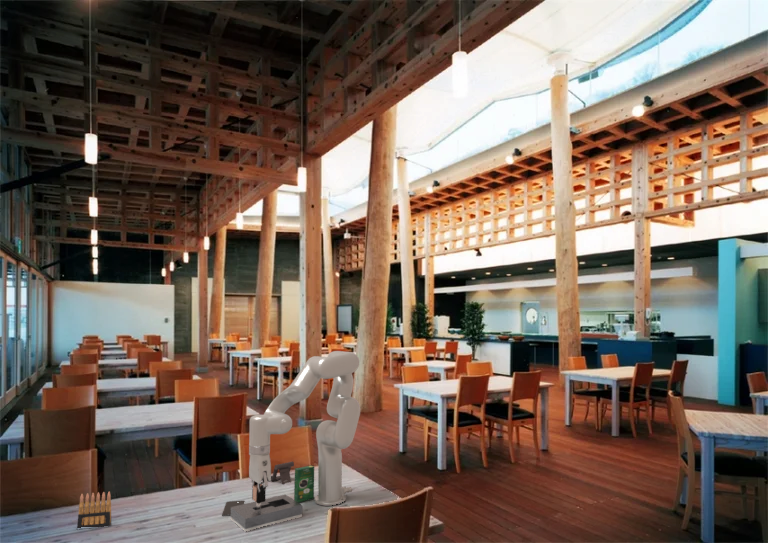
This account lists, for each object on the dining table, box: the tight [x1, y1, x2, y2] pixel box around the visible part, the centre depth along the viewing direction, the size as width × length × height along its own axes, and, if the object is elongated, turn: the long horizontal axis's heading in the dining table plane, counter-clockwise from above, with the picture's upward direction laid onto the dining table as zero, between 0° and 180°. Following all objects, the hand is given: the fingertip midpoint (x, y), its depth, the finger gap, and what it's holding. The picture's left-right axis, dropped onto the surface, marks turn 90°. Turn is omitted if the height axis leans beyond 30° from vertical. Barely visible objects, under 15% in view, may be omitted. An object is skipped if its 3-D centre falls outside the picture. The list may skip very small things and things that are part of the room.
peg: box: [252, 484, 263, 510], centre depth 190 cm, size 4×4×11 cm
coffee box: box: [293, 465, 315, 503], centre depth 210 cm, size 8×3×13 cm, turn 129°
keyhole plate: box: [230, 494, 303, 533], centre depth 192 cm, size 22×14×4 cm, turn 127°
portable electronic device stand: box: [270, 460, 295, 485], centre depth 235 cm, size 9×8×8 cm
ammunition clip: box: [76, 491, 112, 529], centre depth 185 cm, size 11×2×12 cm, turn 105°
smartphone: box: [221, 500, 246, 517], centre depth 201 cm, size 7×1×15 cm
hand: (258, 500), depth 190 cm, fingers closed on peg, 3 cm apart
